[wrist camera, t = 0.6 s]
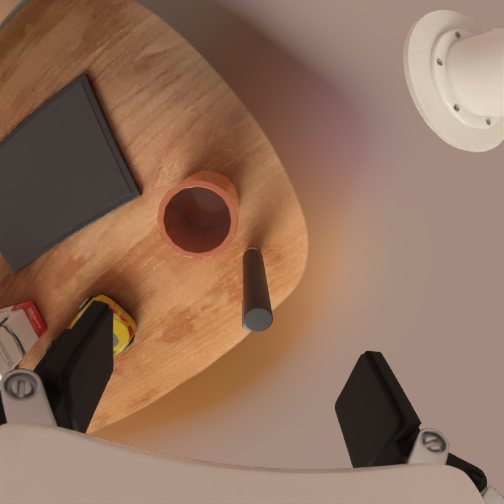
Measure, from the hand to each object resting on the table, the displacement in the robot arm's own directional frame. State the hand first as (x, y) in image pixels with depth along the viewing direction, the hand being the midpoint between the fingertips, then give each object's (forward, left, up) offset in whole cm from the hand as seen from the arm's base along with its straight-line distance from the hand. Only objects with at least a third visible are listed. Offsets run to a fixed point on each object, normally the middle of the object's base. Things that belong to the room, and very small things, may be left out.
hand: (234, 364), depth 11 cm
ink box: (+30, -17, -23) cm, 41 cm away
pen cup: (+1, -3, -23) cm, 23 cm away
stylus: (+3, +4, -23) cm, 23 cm away
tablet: (+10, -21, -23) cm, 33 cm away
